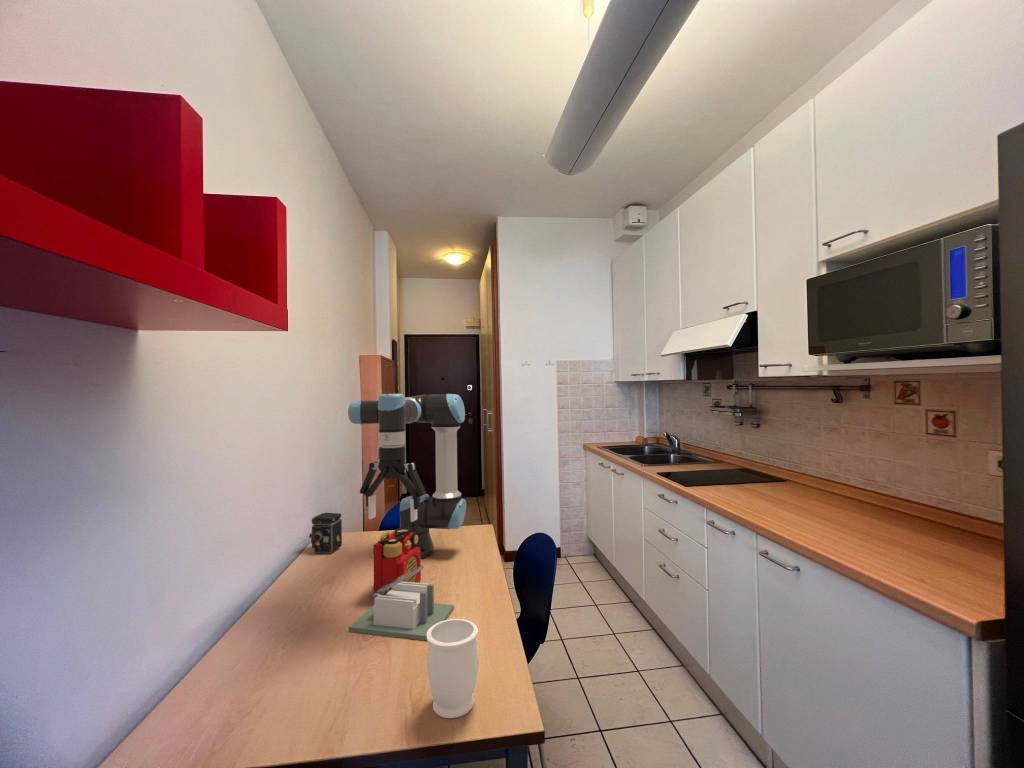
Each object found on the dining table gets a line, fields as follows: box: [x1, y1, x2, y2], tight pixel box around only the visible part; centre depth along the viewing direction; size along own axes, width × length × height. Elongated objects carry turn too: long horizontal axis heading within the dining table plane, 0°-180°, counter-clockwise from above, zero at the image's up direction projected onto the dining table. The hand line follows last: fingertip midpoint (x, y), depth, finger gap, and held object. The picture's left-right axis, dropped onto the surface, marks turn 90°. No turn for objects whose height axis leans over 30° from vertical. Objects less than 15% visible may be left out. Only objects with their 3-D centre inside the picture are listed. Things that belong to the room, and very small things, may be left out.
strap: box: [377, 564, 425, 595], centre depth 123 cm, size 15×3×2 cm
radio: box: [373, 527, 422, 595], centre depth 141 cm, size 16×10×20 cm, turn 168°
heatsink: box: [348, 582, 455, 642], centre depth 123 cm, size 24×17×9 cm
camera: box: [309, 512, 343, 555], centre depth 179 cm, size 10×10×15 cm
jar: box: [426, 618, 480, 719], centre depth 89 cm, size 11×10×15 cm
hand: (392, 519), depth 125 cm, fingers open, 13 cm apart
